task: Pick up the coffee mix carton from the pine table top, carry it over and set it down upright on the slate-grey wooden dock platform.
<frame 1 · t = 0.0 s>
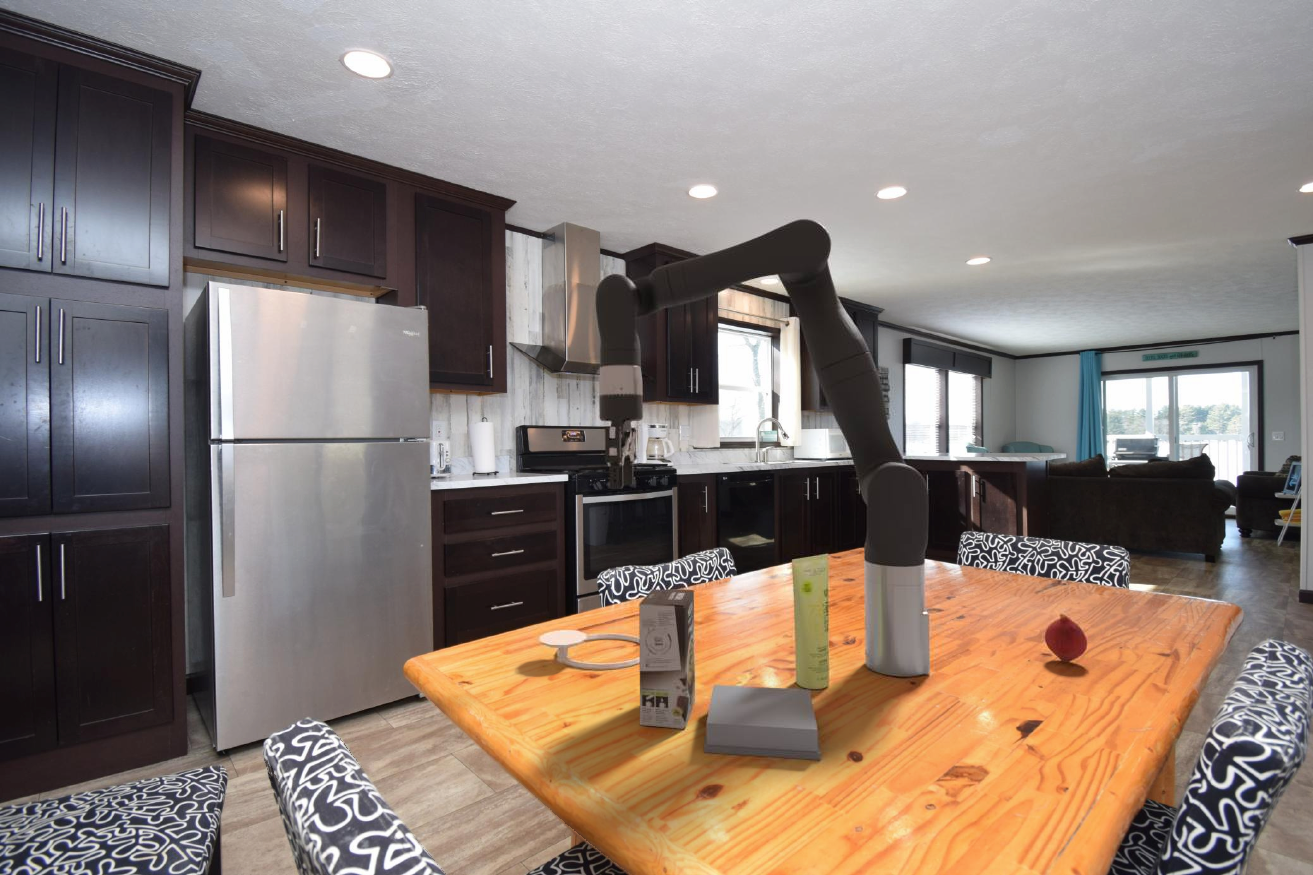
hand: (622, 486, 111), 29 cm above the table, tool pointing down, fingers open, 8 cm apart
coffee box: (669, 714, 88), on the table
onion: (1065, 663, 106), on the table
tube: (811, 685, 98), on the table
hand towel holder: (596, 657, 112), on the table
dock: (761, 731, 82), on the table
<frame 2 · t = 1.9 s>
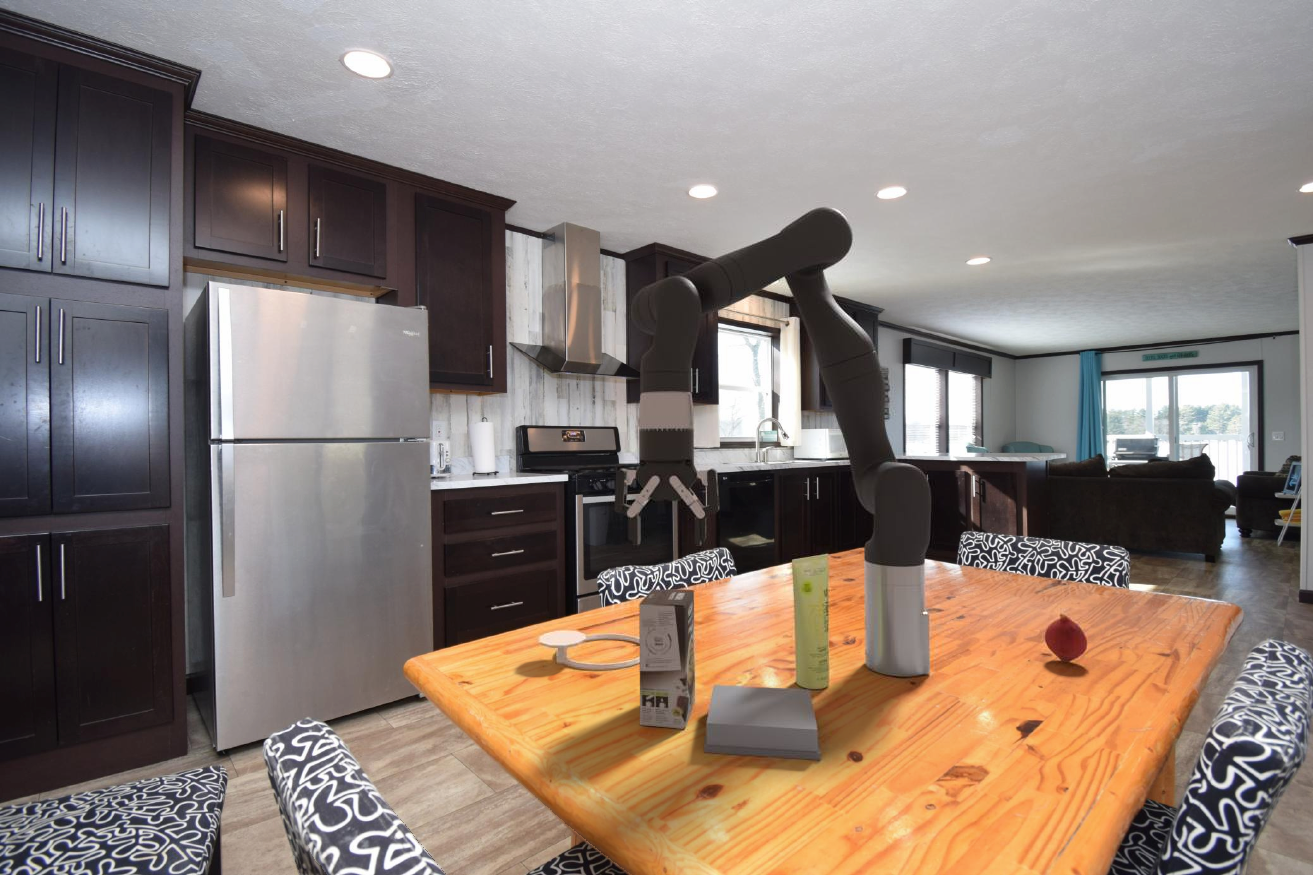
hand: (667, 544, 88), 23 cm above the table, tool pointing down, fingers open, 8 cm apart
nothing on the table moved.
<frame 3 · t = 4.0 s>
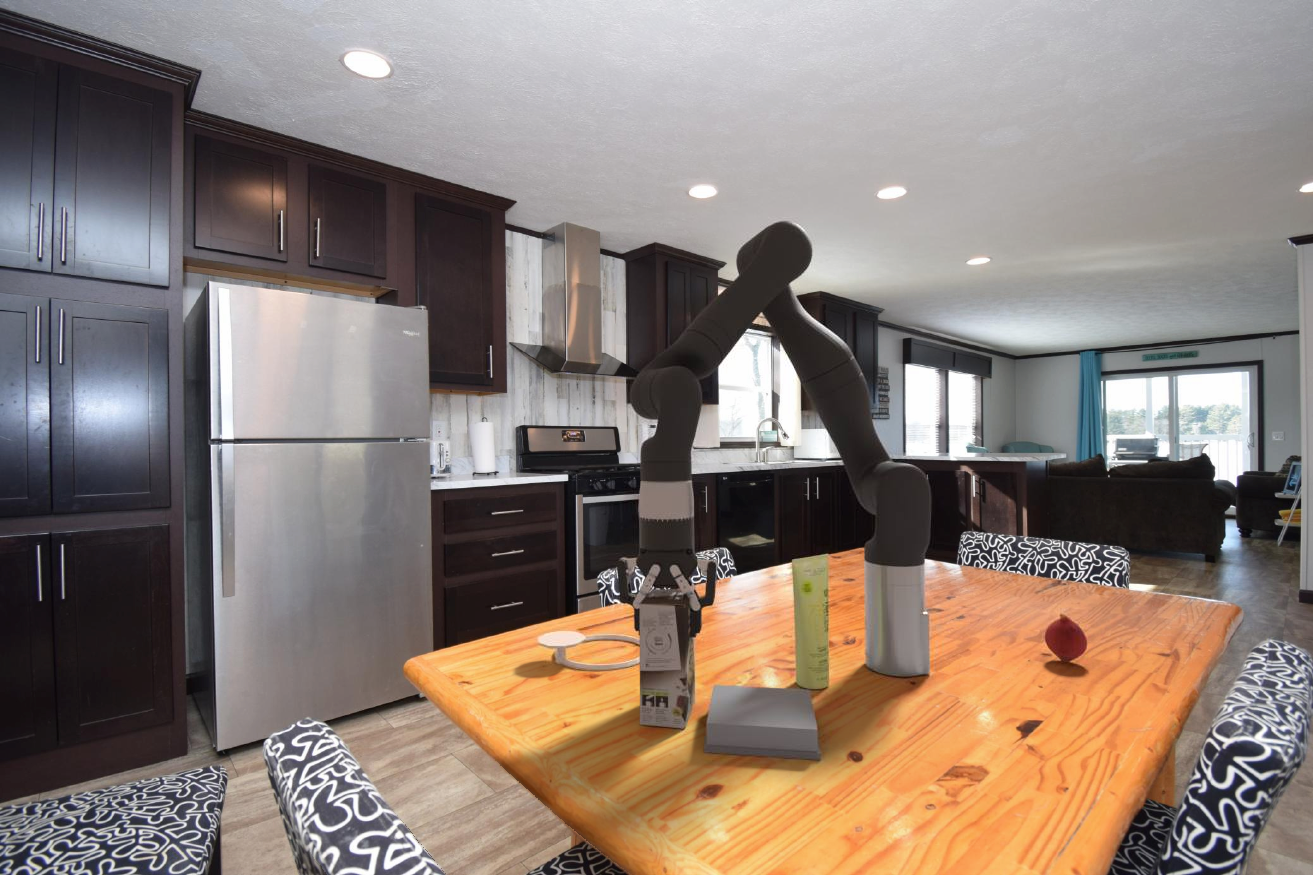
hand: (667, 634, 88), 11 cm above the table, tool pointing down, fingers closed on coffee box, 6 cm apart
coffee box: (669, 714, 88), on the table, touching gripper
everything else where it was.
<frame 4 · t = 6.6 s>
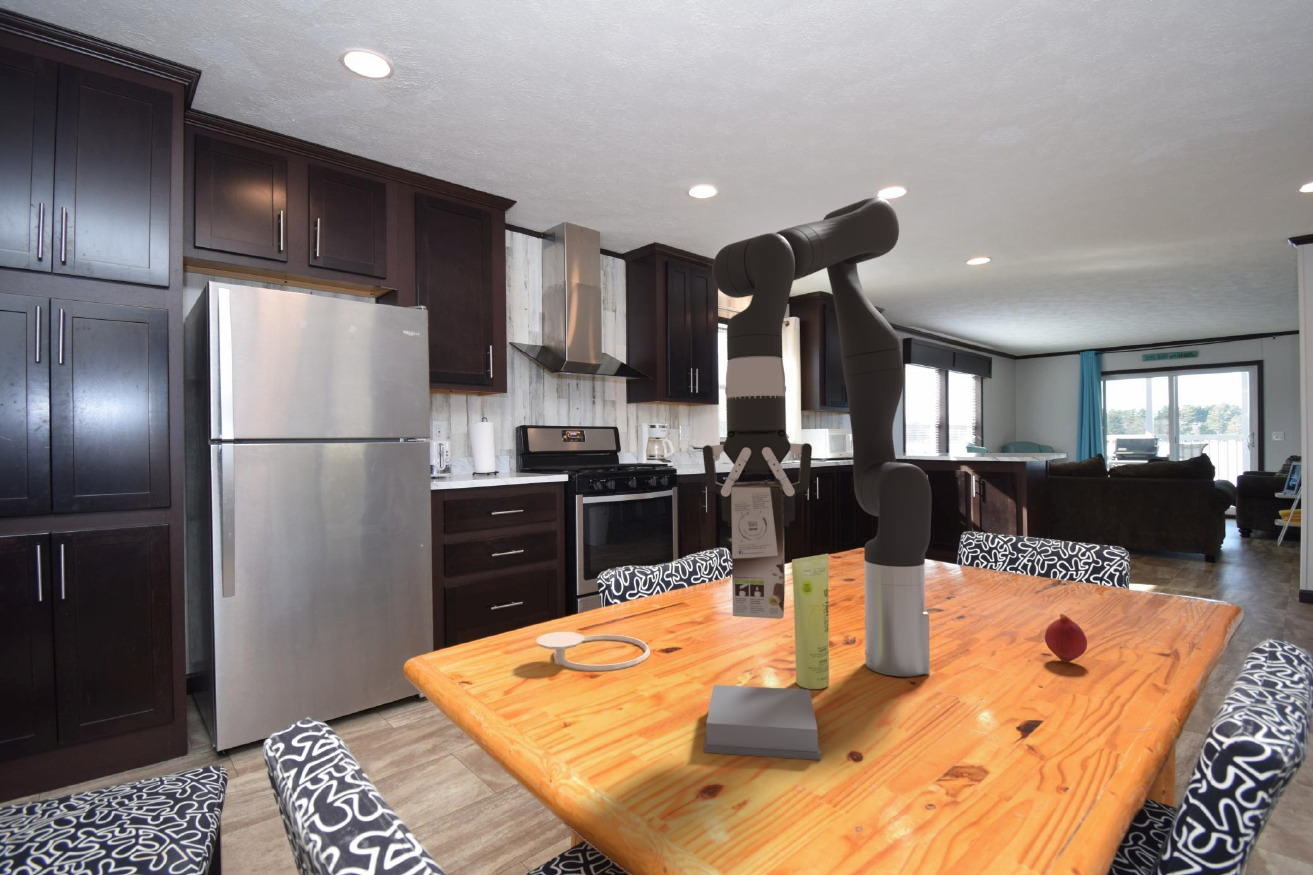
hand: (758, 524, 82), 26 cm above the table, tool pointing down, fingers closed on coffee box, 6 cm apart
coffee box: (760, 610, 82), point 16 cm above the table, touching gripper
everything else where it was.
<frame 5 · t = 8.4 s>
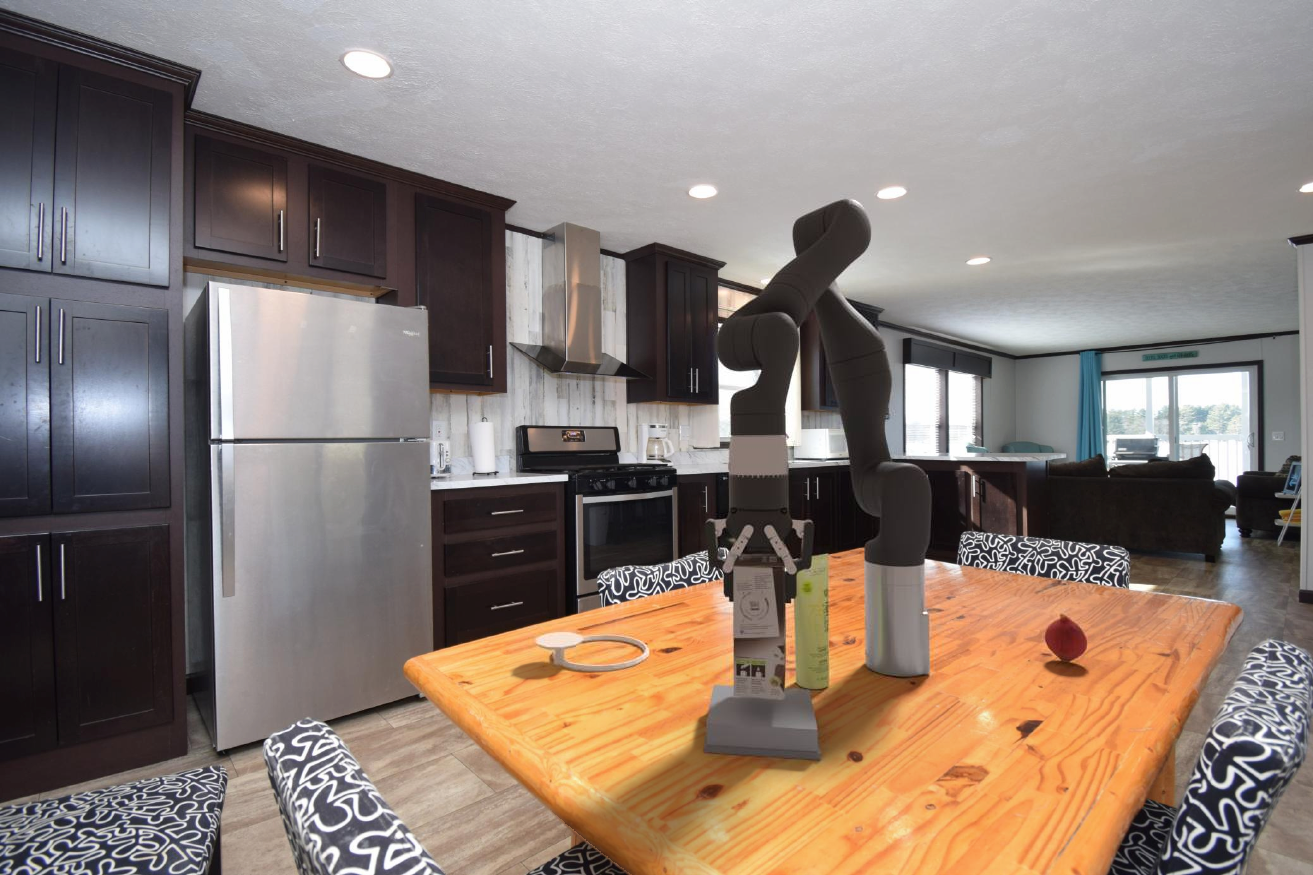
hand: (759, 600, 82), 17 cm above the table, tool pointing down, fingers closed on coffee box, 6 cm apart
coffee box: (760, 686, 82), point 6 cm above the table, touching gripper
when the fingers open (16 cm above the table, at t = 9.6 s): coffee box drops 2 cm, resting on dock.
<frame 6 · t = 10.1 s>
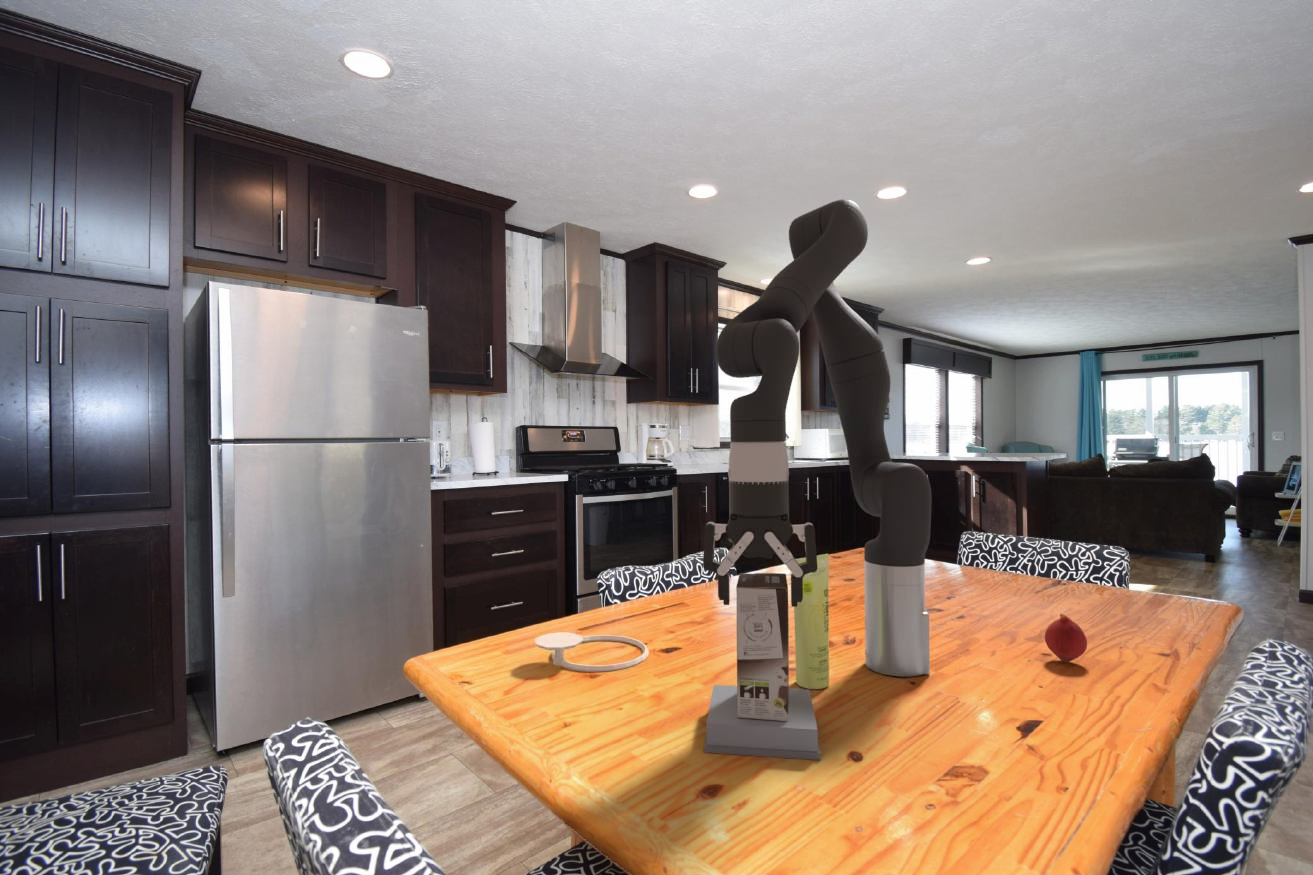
hand: (759, 604, 82), 16 cm above the table, tool pointing down, fingers open, 8 cm apart
coffee box: (763, 706, 82), point 3 cm above the table, touching dock
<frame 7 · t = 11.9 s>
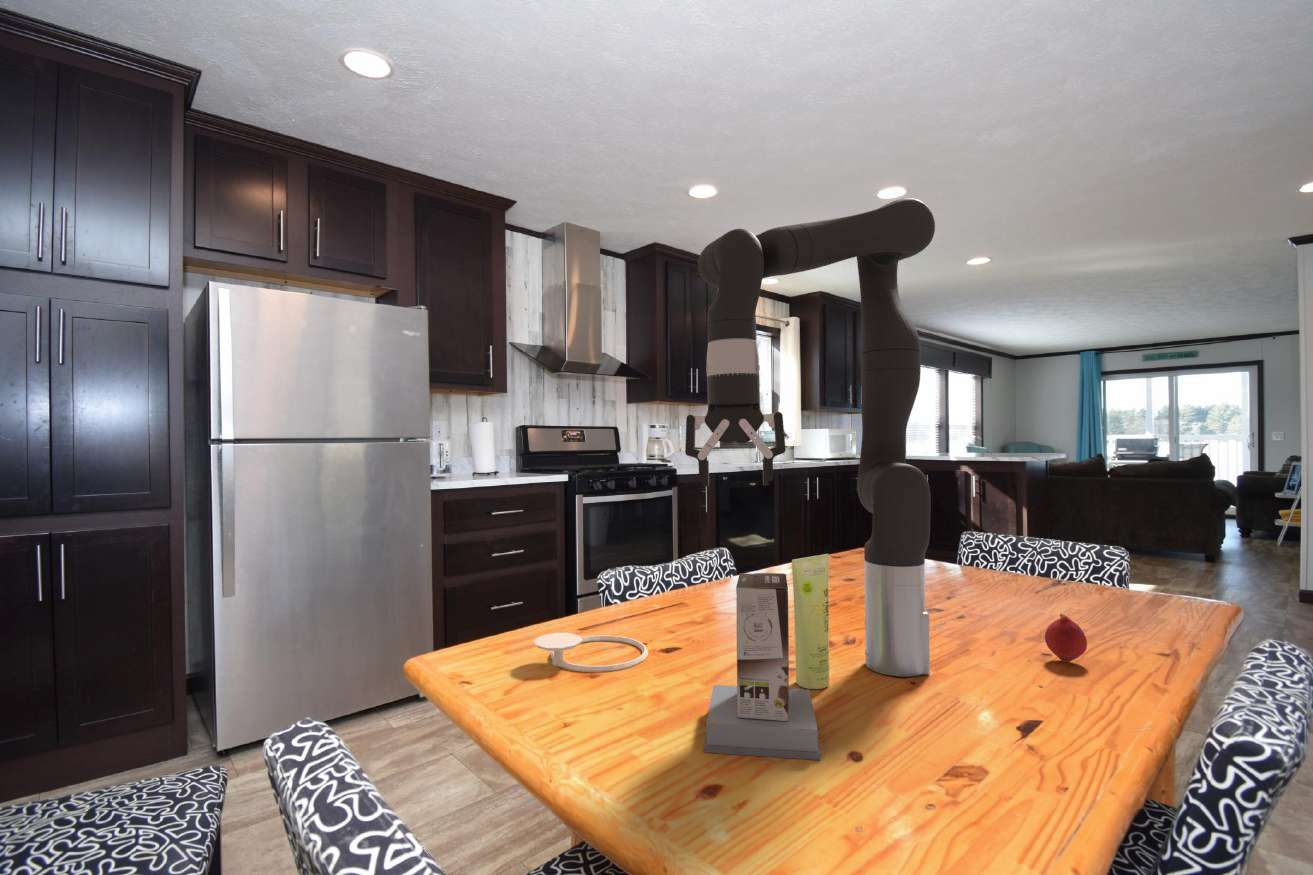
hand: (735, 485, 93), 31 cm above the table, tool pointing down, fingers open, 8 cm apart
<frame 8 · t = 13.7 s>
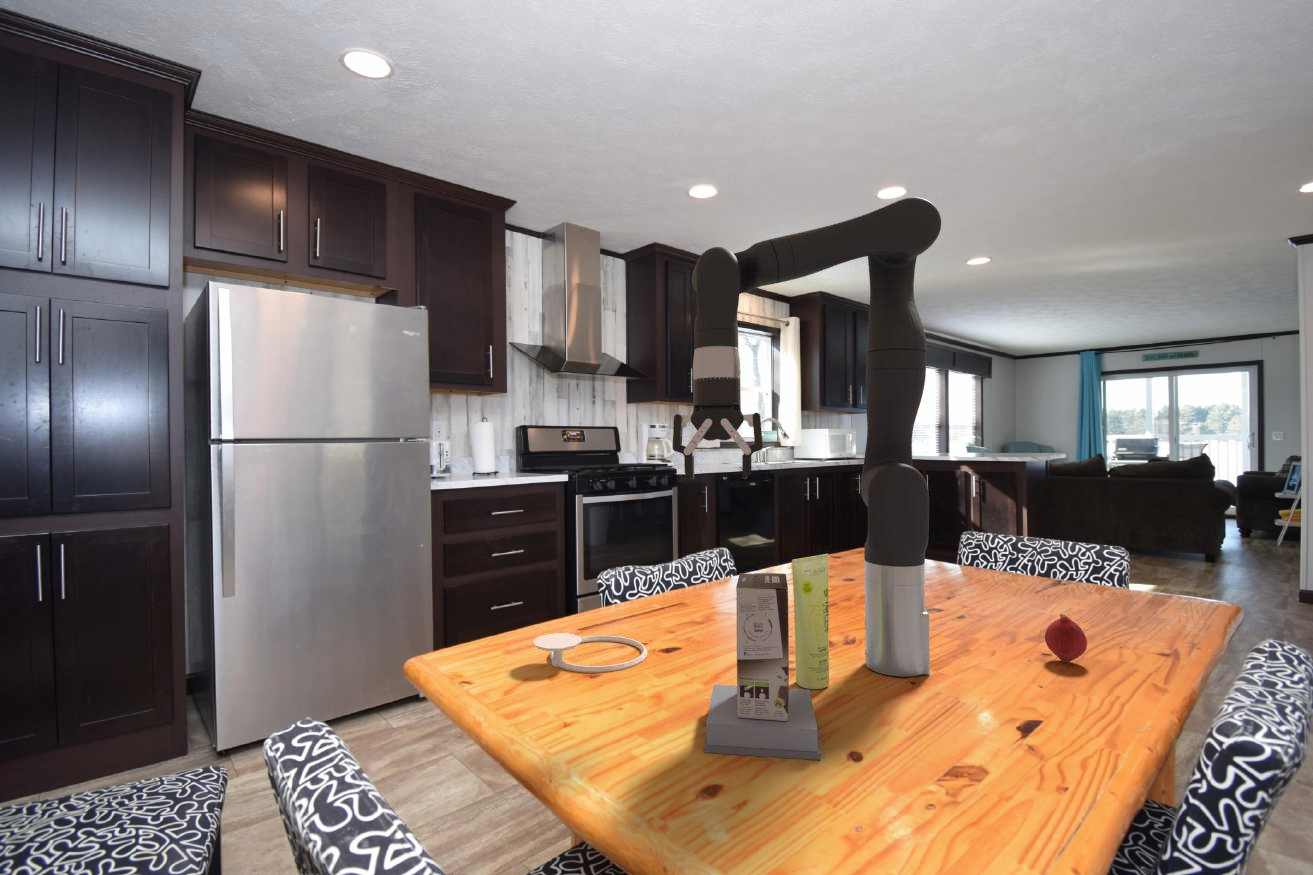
hand: (717, 478, 103), 31 cm above the table, tool pointing down, fingers open, 8 cm apart
at the end: coffee box inside the target area on the dock (0.3 cm from its centre), point 3.2 cm above the dock's base; coffee box tilted 0°; the gripper is holding nothing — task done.
